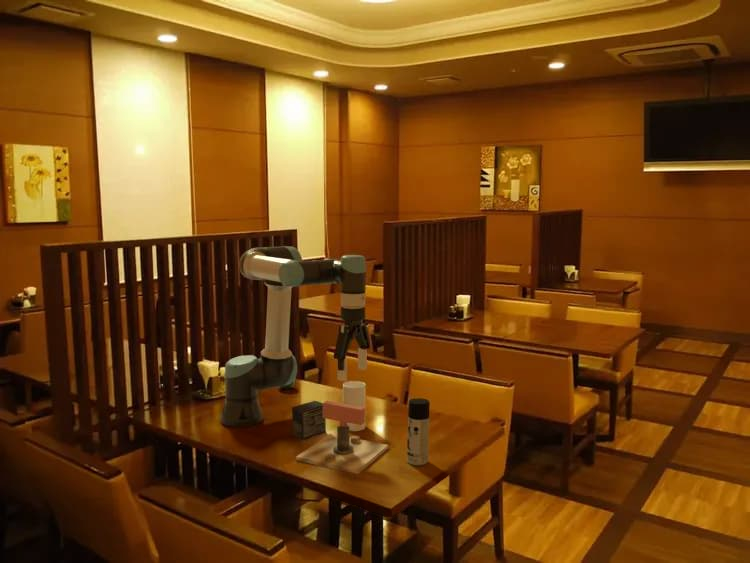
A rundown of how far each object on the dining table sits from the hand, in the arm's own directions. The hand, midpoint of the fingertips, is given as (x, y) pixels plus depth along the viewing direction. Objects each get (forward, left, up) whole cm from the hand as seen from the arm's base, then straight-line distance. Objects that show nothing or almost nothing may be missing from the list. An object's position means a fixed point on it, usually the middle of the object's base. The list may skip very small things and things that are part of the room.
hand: (352, 374), depth 195 cm
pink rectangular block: (-6, +6, -19) cm, 21 cm away
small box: (-25, +16, -29) cm, 42 cm away
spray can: (+18, +11, -29) cm, 36 cm away
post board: (-6, +6, -29) cm, 30 cm away
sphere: (-61, +56, -29) cm, 88 cm away
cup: (-14, +29, -29) cm, 43 cm away
